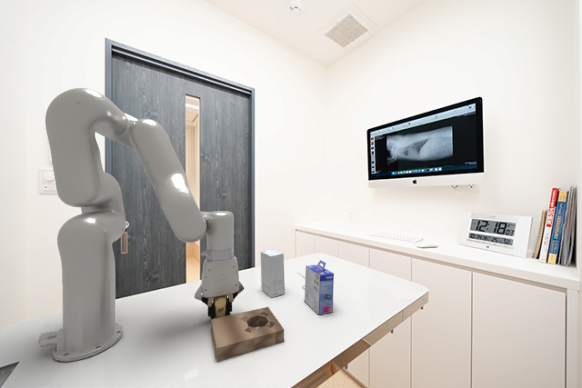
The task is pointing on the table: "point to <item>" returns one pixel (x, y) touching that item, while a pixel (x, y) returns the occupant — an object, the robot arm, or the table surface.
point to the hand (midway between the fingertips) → (220, 315)
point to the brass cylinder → (220, 306)
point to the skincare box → (272, 272)
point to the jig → (245, 333)
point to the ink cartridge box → (319, 288)
